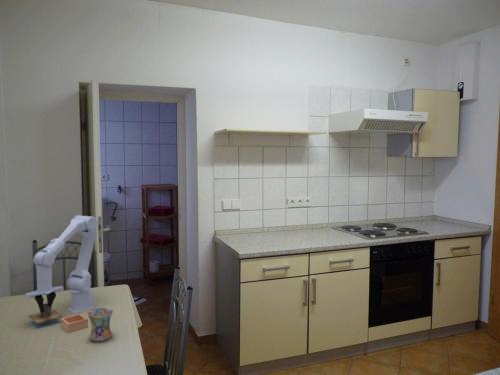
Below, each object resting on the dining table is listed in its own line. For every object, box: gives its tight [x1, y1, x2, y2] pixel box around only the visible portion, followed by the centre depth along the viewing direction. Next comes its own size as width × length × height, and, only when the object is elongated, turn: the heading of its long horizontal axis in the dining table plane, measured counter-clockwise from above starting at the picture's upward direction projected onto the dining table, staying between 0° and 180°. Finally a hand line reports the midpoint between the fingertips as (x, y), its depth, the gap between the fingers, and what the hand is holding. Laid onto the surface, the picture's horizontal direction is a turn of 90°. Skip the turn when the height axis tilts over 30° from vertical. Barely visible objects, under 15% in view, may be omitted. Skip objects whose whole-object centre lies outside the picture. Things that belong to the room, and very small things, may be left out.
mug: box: [87, 307, 114, 342], centre depth 159 cm, size 12×9×11 cm
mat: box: [27, 318, 61, 331], centre depth 171 cm, size 11×11×1 cm
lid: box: [28, 302, 63, 324], centre depth 171 cm, size 10×10×5 cm
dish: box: [60, 313, 89, 334], centre depth 167 cm, size 8×8×4 cm
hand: (45, 311), depth 171 cm, fingers closed on lid, 2 cm apart
